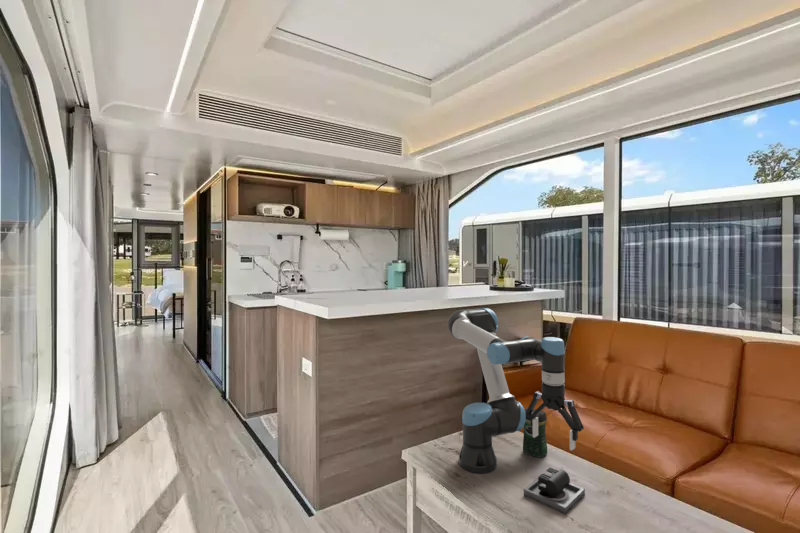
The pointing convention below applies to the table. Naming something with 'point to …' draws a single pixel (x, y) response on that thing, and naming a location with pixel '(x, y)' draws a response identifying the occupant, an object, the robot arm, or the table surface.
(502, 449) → the table surface
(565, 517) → the table surface
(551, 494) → the end cap
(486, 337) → the robot arm
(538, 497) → the grey square tray
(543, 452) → the coffee jar
